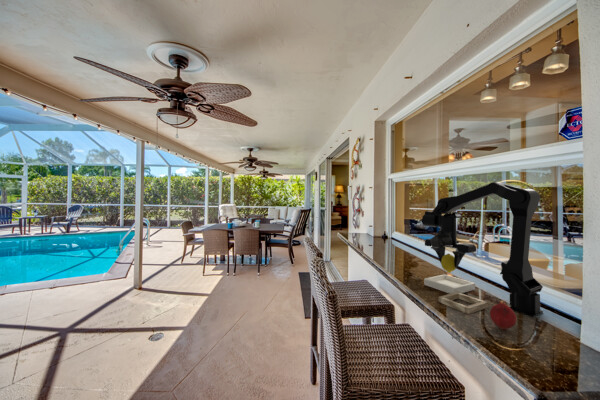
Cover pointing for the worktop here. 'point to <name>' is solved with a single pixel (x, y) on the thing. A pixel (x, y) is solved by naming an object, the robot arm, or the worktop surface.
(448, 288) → the dish
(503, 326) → the onion
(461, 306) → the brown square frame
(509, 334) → the worktop surface
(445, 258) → the lemon
